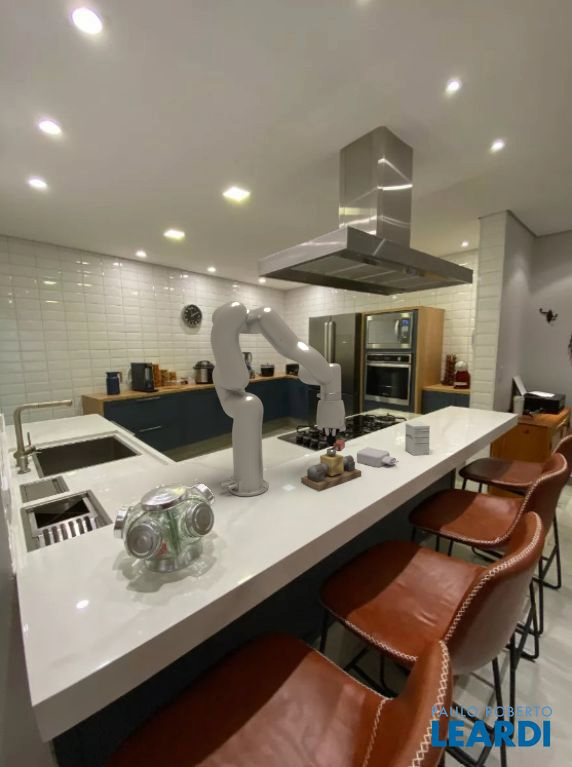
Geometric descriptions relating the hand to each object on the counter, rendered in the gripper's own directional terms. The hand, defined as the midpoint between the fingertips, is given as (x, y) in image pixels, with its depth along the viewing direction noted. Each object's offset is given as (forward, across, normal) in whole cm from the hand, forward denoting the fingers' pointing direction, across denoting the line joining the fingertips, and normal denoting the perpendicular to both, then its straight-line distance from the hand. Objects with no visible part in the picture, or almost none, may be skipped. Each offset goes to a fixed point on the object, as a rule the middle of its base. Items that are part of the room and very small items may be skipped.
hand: (331, 445), depth 122 cm
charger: (+10, +16, +12) cm, 22 cm away
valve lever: (+1, +3, -5) cm, 6 cm away
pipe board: (+9, +3, -10) cm, 14 cm away
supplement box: (+9, +29, +32) cm, 44 cm away
